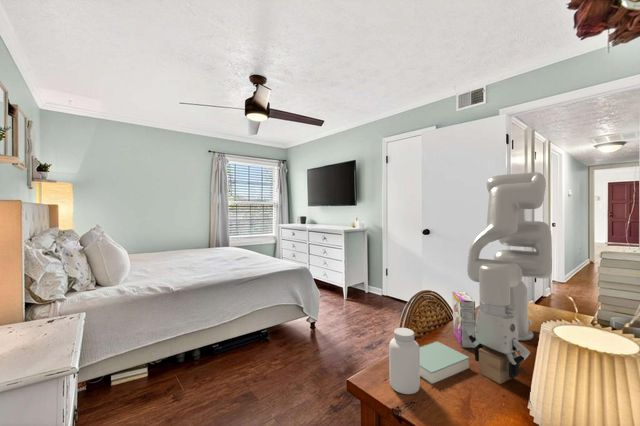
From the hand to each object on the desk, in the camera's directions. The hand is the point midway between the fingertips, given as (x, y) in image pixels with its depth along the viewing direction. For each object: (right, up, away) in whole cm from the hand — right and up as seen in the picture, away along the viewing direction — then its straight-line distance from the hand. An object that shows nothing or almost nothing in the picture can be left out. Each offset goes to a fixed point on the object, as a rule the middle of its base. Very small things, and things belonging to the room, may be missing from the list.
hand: (495, 367), depth 81 cm
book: (-15, -3, +6) cm, 16 cm away
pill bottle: (-27, -3, -4) cm, 28 cm away
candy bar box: (+2, -2, +21) cm, 21 cm away
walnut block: (0, -2, 0) cm, 2 cm away
